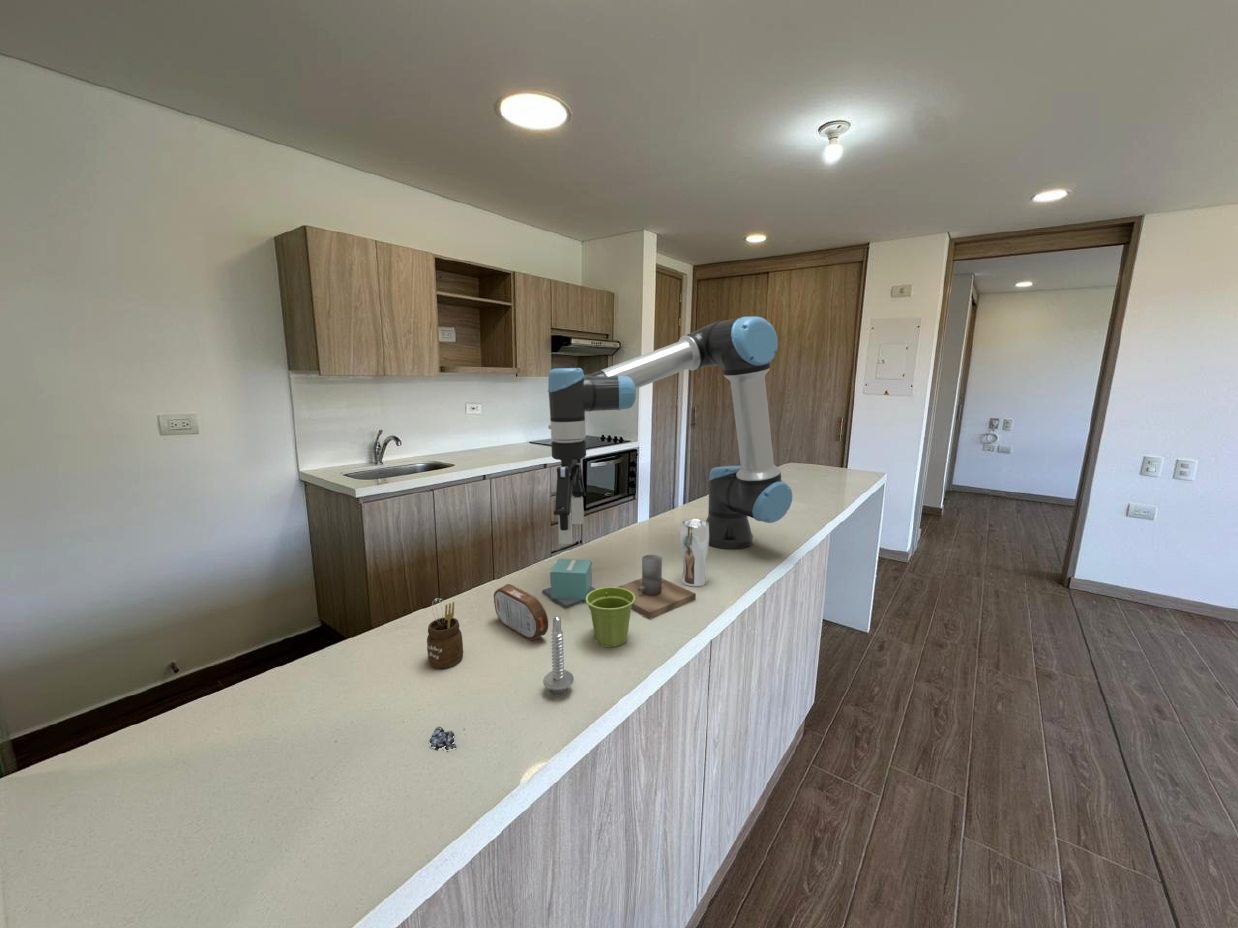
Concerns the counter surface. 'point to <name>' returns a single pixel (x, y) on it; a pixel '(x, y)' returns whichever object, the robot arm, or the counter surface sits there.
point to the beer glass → (694, 551)
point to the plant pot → (610, 614)
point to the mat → (565, 602)
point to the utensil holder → (444, 640)
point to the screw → (558, 663)
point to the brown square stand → (656, 590)
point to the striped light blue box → (571, 579)
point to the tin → (521, 611)
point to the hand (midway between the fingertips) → (572, 533)
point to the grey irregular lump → (442, 739)
